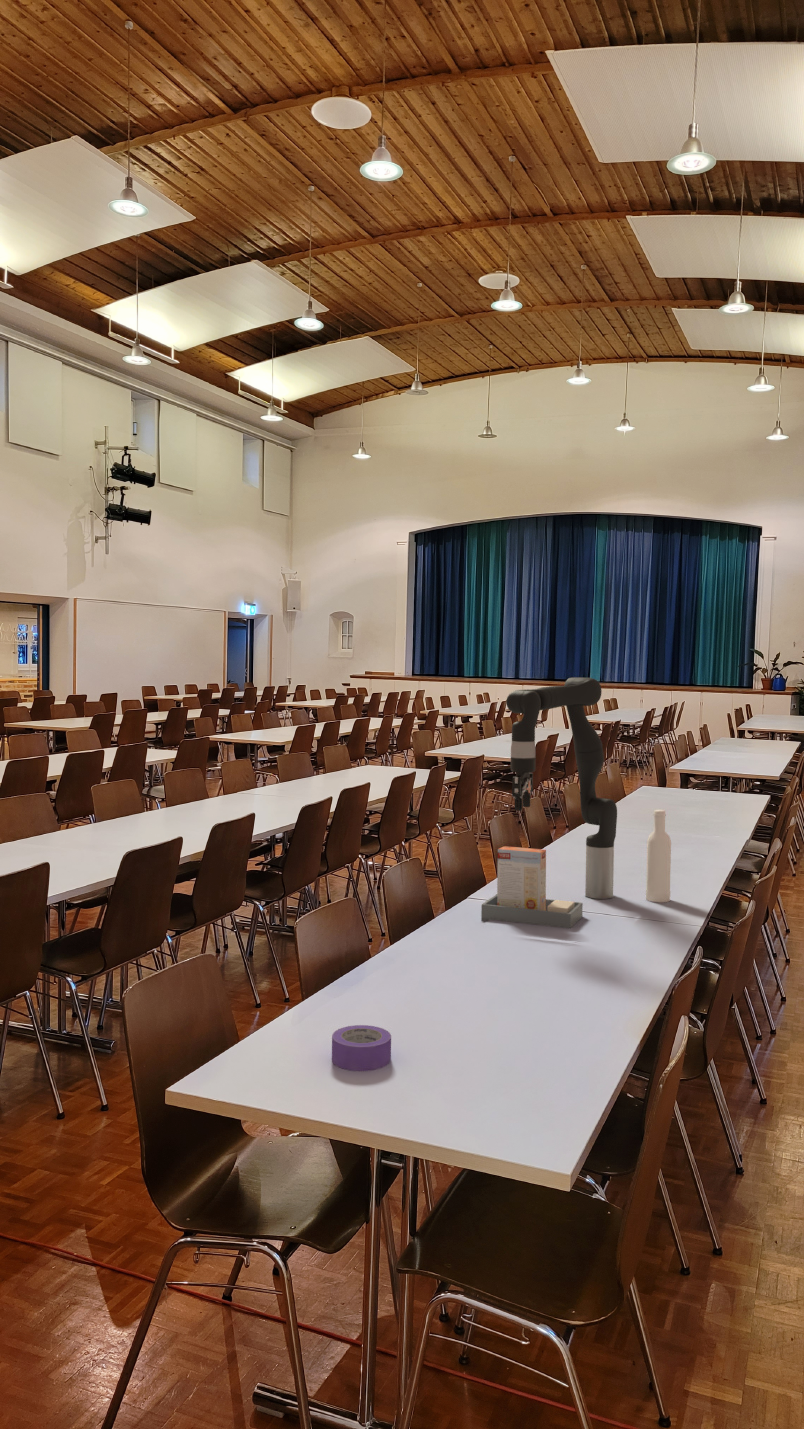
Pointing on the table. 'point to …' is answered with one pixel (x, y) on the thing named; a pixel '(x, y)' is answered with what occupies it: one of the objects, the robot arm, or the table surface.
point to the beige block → (561, 906)
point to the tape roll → (361, 1048)
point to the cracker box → (521, 878)
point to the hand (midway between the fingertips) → (522, 808)
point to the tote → (530, 914)
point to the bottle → (658, 861)
